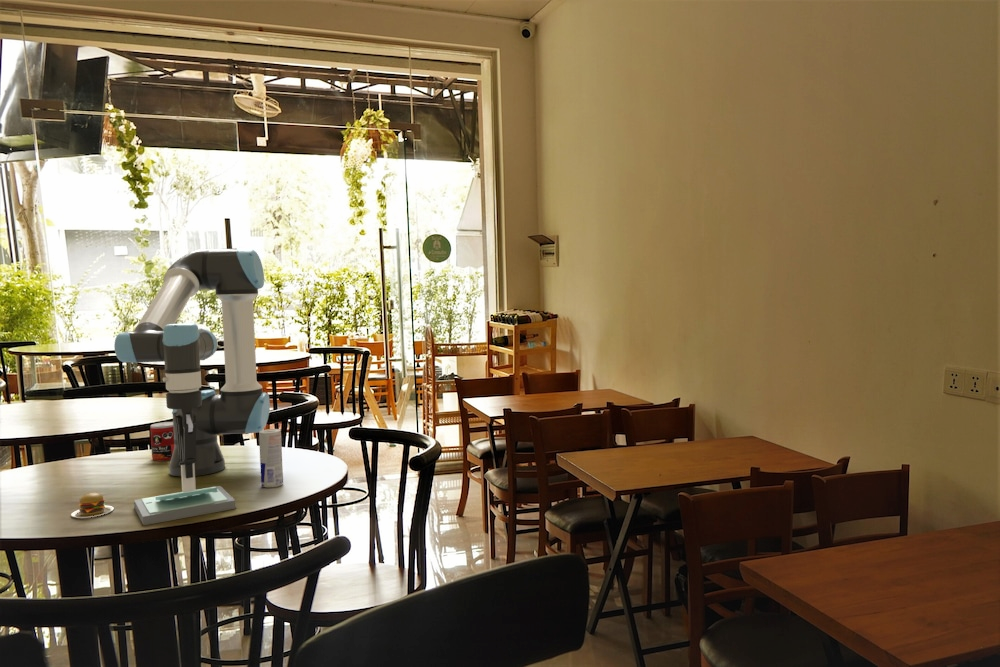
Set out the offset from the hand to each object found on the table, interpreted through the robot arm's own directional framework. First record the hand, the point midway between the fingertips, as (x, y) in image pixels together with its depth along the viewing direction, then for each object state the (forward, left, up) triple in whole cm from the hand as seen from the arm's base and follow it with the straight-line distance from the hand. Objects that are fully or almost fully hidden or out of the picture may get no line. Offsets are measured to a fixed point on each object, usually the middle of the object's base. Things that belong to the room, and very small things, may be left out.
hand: (188, 490), depth 165 cm
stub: (-9, 0, -3) cm, 10 cm away
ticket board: (-7, 0, -6) cm, 9 cm away
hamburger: (-17, -19, -7) cm, 26 cm away
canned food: (-69, +5, -6) cm, 69 cm away
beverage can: (-14, +23, -6) cm, 28 cm away
